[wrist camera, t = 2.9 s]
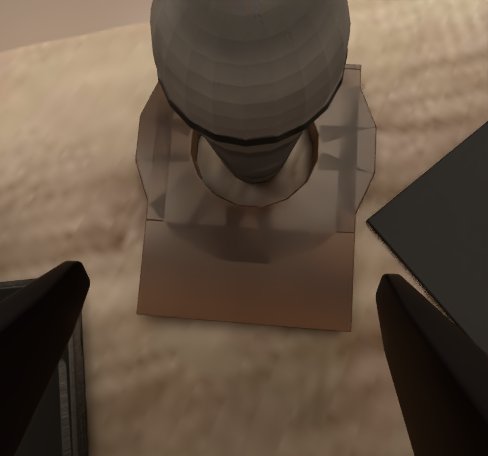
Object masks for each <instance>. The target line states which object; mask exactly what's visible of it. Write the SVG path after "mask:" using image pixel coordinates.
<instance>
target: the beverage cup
mask: <svg viewBox="0 0 488 456" xmlns="http://www.w3.org/2000/svg"><path fill="white" fill-rule="evenodd" d="M150 25H151V36H152V48H153V55H154V60H155V64H156V67H157V73H158V81H159V83H160V85H161V87H162V90H163V92H164V94H165V96H166V98H167V101H168V103H169V105H170V107H171V108H172V109H173V110H174V111H175V112H176V113H177V114H178V115H179V116H180V117H181V119H182V120H183V121H184V122H185V123H186V124H187V125H188V126H189V127H190V128H192V129H194V130H196V131H197V132H199V133H200V134H201V135H202V136H204V137H205V138H206V140H207V141H208V143H209V144H210V145H211V147H212V148H213V150H214V151H215V152H216V154H217V155H218V156H219V158H220V159H221V161H222V162H223V163H224V165H225V166H226V167H227V168H228V169H229V170H230V171H231V172H232V173H233V174H234V175H235V176H236V177H237V178H239V179H241V180H243V181H245V182H250V183H258V182H264V181H266V180H268V179H270V178H272V177H273V176H274V175H275V174H276V173H278V172H279V170H280V169H281V168H282V167H283V165H284V163H285V162H286V160H287V158H288V156H289V155H290V153H291V151H292V150H293V148H294V146H295V144H296V143H297V141H298V139H299V137H300V136H301V134H302V132H303V131H304V130H305V129H306V128H307V127H308V126H310V125H311V124H312V123H313V122H314V121H315V120H316V119H317V118H318V117H320V116H321V115H322V114H323V113H324V112H325V111H326V110H327V109H328V107H329V105H330V104H331V102H332V100H333V98H334V97H335V95H336V93H337V91H338V90H339V88H340V86H341V84H342V80H343V75H344V70H345V65H346V59H347V51H348V48H347V46H348V41H349V34H350V16H349V8H348V2H347V0H153V2H152V6H151V17H150Z"/></svg>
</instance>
